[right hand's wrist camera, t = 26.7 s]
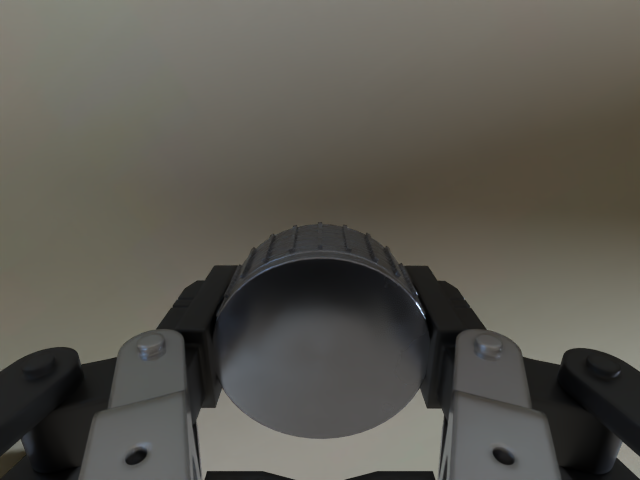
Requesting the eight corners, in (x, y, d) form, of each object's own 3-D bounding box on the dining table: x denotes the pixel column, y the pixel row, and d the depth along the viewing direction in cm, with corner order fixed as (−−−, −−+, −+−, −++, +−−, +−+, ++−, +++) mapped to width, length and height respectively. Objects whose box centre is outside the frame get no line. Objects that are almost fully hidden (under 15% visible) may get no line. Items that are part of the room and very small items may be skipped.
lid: (279, 185, 10) (267, 210, 7) (449, 273, 10) (481, 318, 8) (201, 338, 11) (174, 393, 9) (354, 402, 12) (361, 467, 10)
